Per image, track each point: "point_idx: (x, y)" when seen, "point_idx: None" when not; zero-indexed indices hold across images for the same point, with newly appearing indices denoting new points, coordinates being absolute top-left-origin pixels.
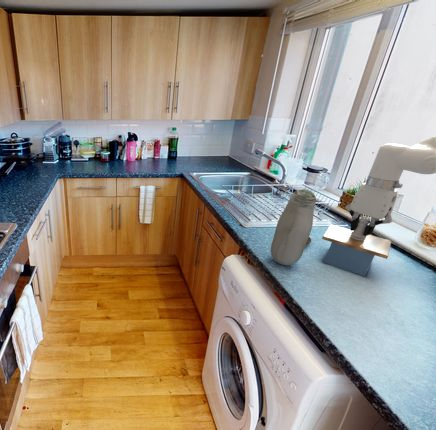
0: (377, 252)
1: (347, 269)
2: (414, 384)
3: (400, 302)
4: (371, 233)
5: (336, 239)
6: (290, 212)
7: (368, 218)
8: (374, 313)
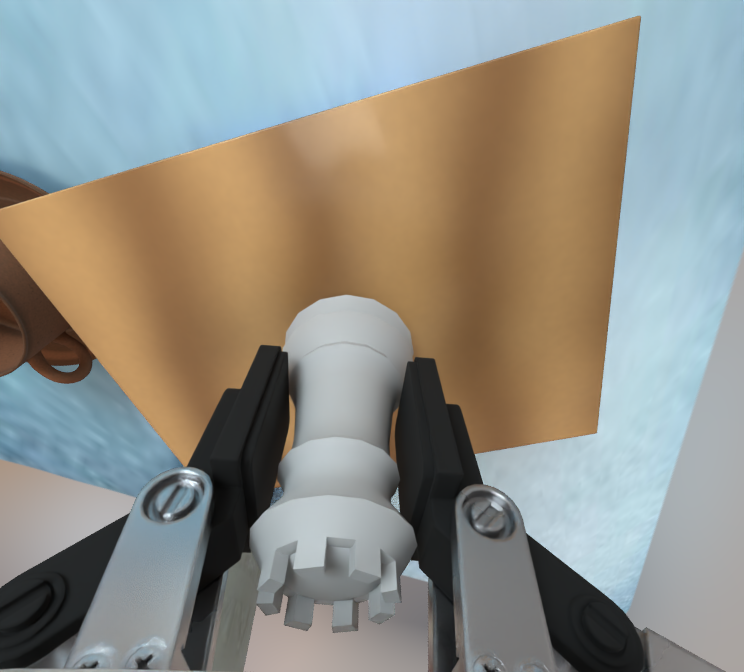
0: (531, 443)
1: None
2: (614, 586)
3: (609, 383)
4: (455, 411)
5: None
6: None
7: (357, 578)
8: (539, 489)
